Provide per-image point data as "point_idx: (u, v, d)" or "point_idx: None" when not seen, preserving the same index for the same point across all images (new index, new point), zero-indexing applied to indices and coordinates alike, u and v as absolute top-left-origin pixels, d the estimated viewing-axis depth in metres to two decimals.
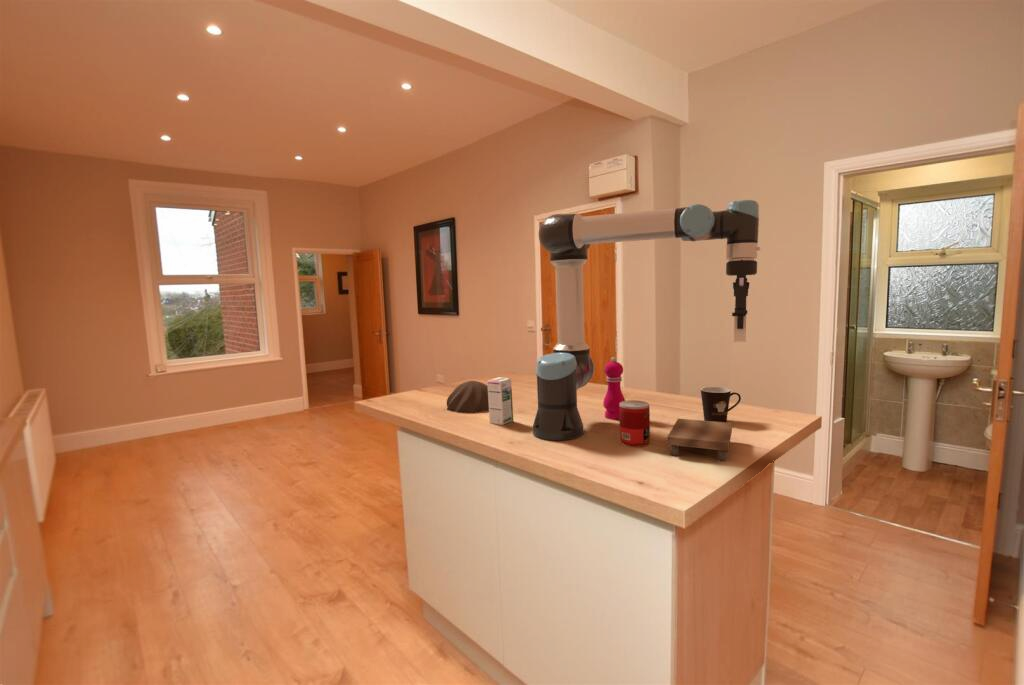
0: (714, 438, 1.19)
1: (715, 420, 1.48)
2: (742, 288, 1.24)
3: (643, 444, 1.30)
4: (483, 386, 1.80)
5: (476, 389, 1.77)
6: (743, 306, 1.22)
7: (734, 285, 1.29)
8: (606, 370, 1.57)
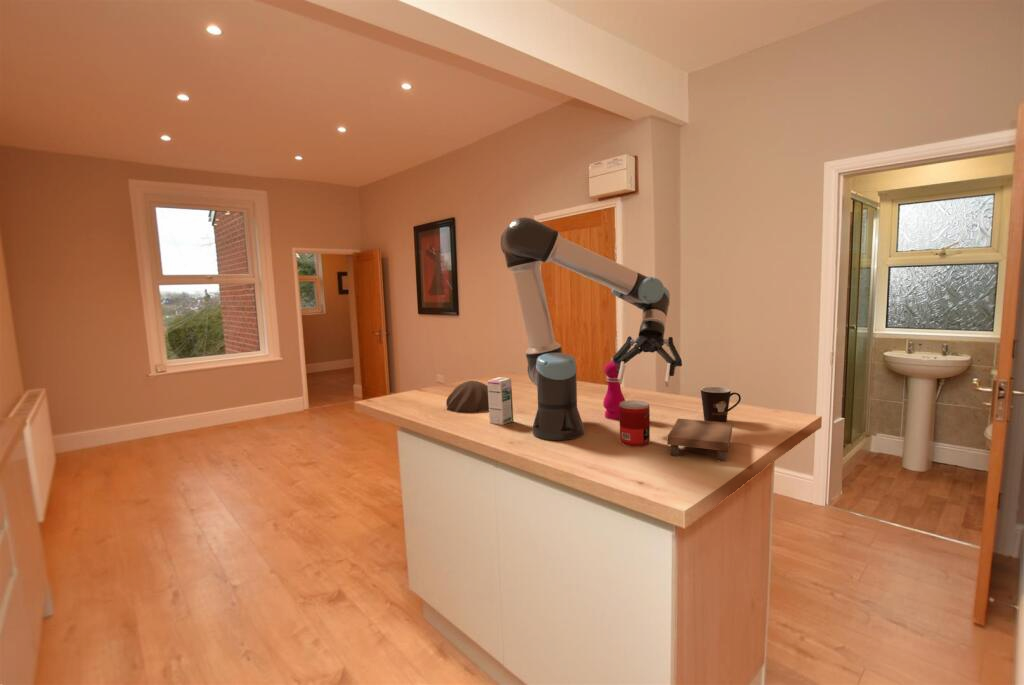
0: (714, 438, 1.19)
1: (715, 420, 1.48)
2: None
3: (643, 444, 1.30)
4: (483, 386, 1.80)
5: (476, 389, 1.77)
6: None
7: None
8: (606, 370, 1.57)
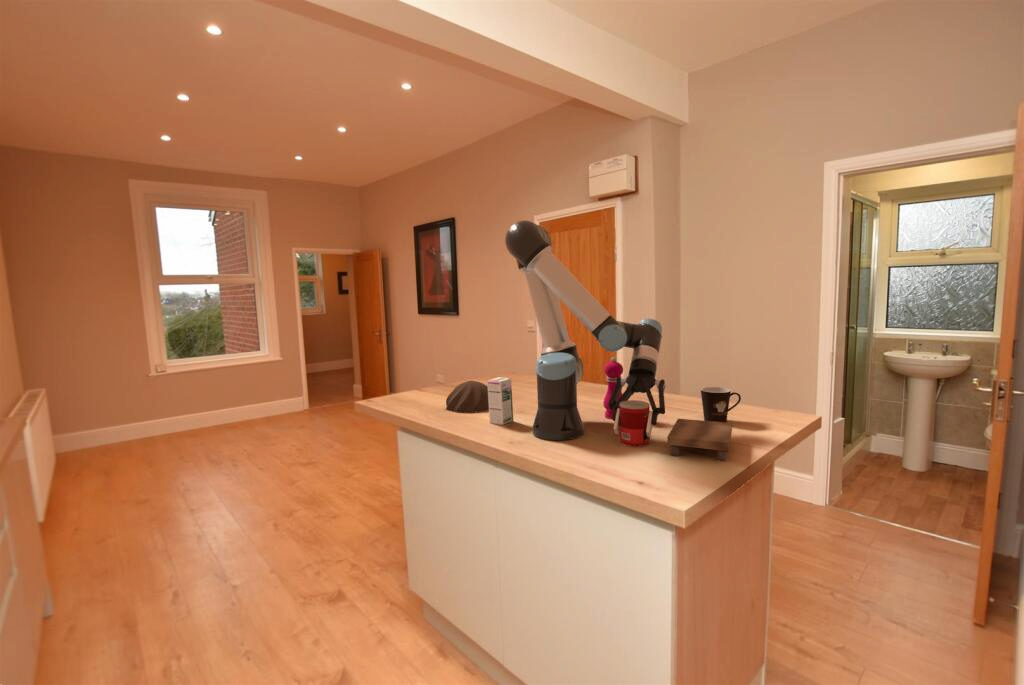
0: (714, 438, 1.19)
1: (715, 420, 1.48)
2: (663, 391, 1.35)
3: (643, 444, 1.30)
4: (482, 386, 1.80)
5: (475, 389, 1.78)
6: (664, 407, 1.32)
7: (647, 381, 1.37)
8: (606, 370, 1.57)
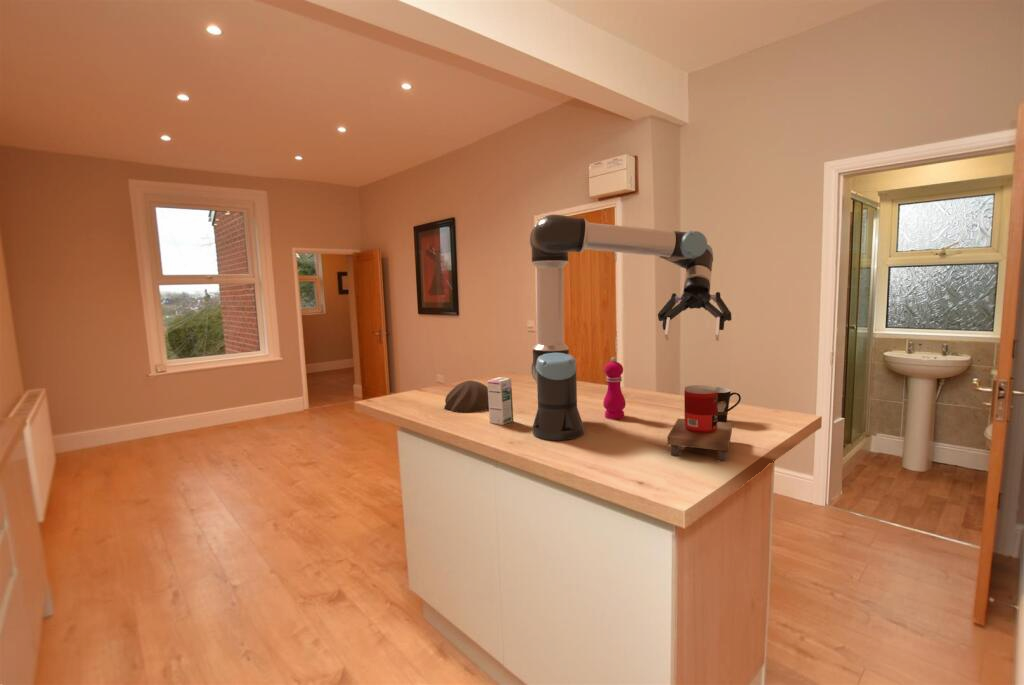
0: (714, 438, 1.19)
1: None
2: None
3: (711, 431, 1.23)
4: (480, 386, 1.80)
5: (473, 388, 1.78)
6: None
7: None
8: (606, 370, 1.57)
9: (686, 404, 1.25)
